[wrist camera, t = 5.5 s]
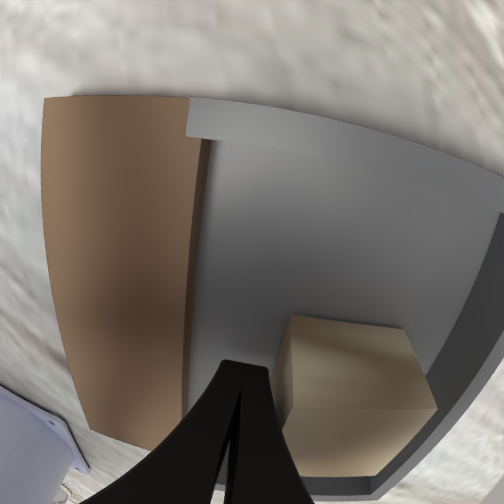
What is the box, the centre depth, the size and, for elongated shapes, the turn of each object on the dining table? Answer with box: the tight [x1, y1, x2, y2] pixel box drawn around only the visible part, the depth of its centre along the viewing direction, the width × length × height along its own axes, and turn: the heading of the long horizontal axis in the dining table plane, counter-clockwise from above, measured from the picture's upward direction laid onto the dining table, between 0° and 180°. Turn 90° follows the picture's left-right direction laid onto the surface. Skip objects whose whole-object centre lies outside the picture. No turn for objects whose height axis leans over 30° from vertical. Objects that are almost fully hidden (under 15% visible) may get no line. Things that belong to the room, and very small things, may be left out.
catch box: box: [186, 97, 504, 501], centre depth 10 cm, size 10×15×3 cm, turn 171°
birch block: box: [270, 314, 438, 477], centre depth 9 cm, size 4×4×4 cm
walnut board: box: [41, 95, 211, 451], centre depth 10 cm, size 5×15×1 cm, turn 171°
